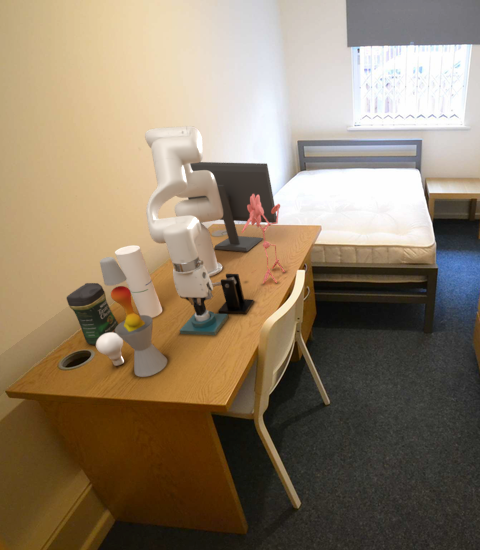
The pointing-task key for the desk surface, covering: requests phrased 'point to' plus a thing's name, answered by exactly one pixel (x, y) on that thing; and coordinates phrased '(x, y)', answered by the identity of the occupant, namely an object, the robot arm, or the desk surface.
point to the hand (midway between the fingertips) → (201, 313)
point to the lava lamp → (133, 323)
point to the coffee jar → (92, 311)
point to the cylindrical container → (139, 280)
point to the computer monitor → (240, 198)
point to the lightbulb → (111, 347)
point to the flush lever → (220, 282)
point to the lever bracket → (234, 297)
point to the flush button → (203, 317)
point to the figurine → (255, 217)
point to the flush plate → (204, 325)
